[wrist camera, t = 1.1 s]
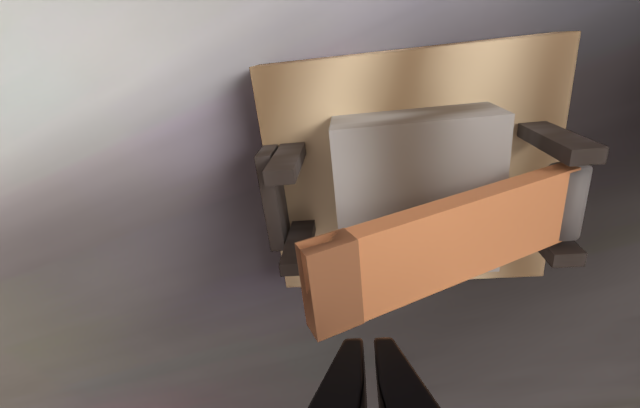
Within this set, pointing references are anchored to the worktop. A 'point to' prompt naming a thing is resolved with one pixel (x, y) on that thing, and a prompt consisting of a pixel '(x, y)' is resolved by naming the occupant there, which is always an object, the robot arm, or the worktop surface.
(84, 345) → the worktop surface
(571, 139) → the clamp base
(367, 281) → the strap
